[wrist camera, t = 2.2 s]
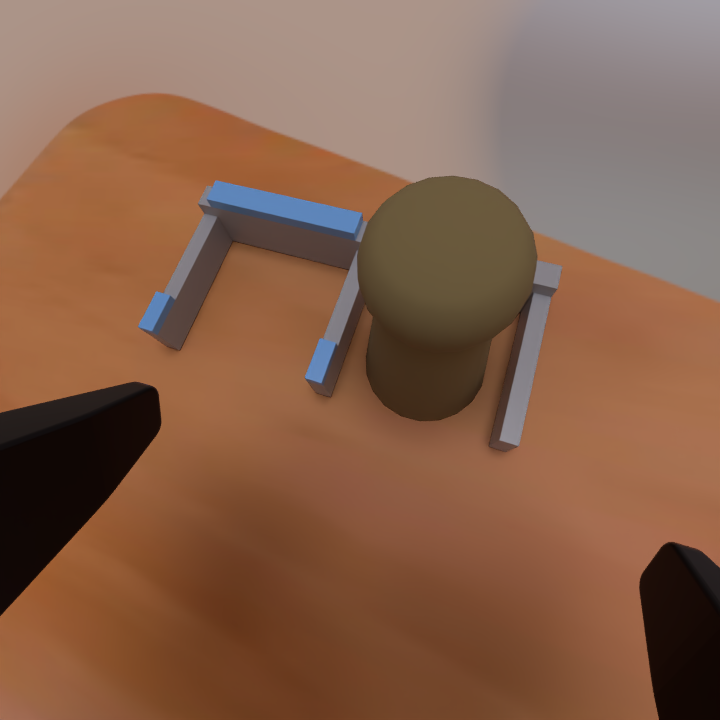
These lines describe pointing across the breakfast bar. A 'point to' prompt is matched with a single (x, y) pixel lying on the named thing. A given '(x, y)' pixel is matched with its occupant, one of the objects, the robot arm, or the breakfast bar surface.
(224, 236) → the slotted rack
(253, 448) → the breakfast bar surface
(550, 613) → the breakfast bar surface
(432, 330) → the cork
